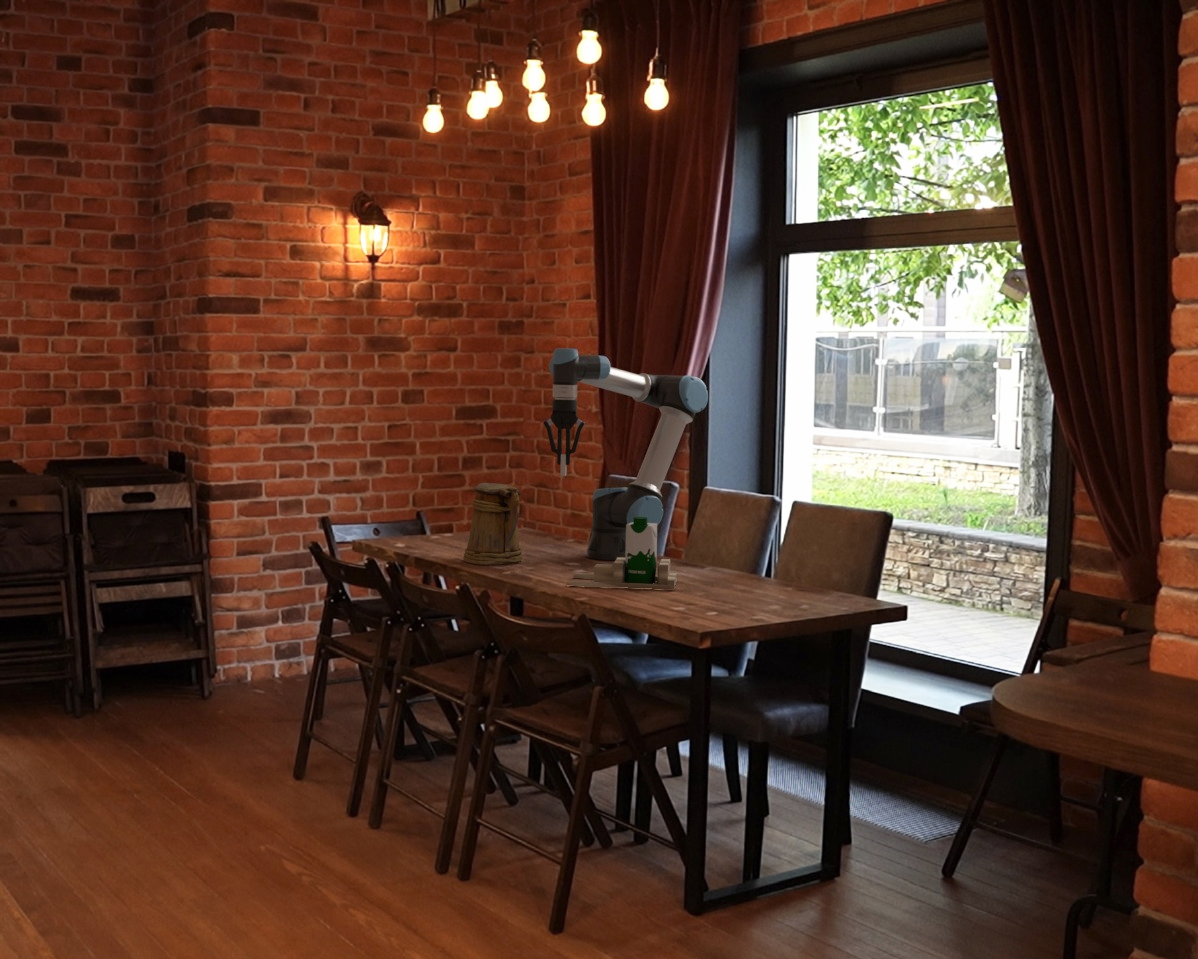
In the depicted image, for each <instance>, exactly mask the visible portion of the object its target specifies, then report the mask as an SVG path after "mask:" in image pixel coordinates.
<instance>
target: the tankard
mask: <svg viewBox="0 0 1198 959" xmlns="http://www.w3.org/2000/svg"><path fill="white" fill-rule="evenodd" d="M474 489H475V490H476V493H475V497H474V498H473V499H472V500H473V501H472V505H471V506H472V509H473V511H472V518H471V523H470V528H469V529H470V530H469V534H468V541H467V547H466V549H465V550H464V553H463V557H462V560H463V561H464V562H467V563H469V564H474V565H481V566H490V565H504V566H510V565H509V564H513V565H515V564H514V563H517V564H520V563H521V562H522V561H523V553H522V549H521V547H520V538H519V528H518V523H519V522H518V521H519V518H520V507H521V506H520V497H519V496H521V494H522V493H521V490H518V488H517V487H514V486H511V485H509V484H503V483H494V482H491V483H490V482H481V483H479V484H477V485H476V486H475V488H474ZM519 562H520V563H519Z"/></svg>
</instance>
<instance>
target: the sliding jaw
mask: <svg viewBox="0 0 1198 959" xmlns="http://www.w3.org/2000/svg"><path fill="white" fill-rule="evenodd" d="M593 574H594V579H593V582H613V583H626V576H625V557H617V559H616V560H614V562H613V564H600V563H599V564H597V563H596V564H595V565H594V566H593Z"/></svg>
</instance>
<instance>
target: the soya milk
mask: <svg viewBox="0 0 1198 959" xmlns="http://www.w3.org/2000/svg"><path fill="white" fill-rule="evenodd" d="M657 555H658V525H657V523H647V518H646V517H634V520H633V522H632V523H629V524H627V525H626V552H625V576H626V583H640V584H653V583H655V584H656V582H655V576H657V575H656V573H657V564H658V563H657V561H658V559H657V558H658V556H657Z"/></svg>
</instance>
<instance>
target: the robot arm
mask: <svg viewBox="0 0 1198 959" xmlns="http://www.w3.org/2000/svg"><path fill="white" fill-rule="evenodd" d="M578 351H579V350H578V349H577V348H563V347H562V348H560V347H559V348H555V349H553V356H552V358H551V359H550V361H549V364H548V368H549V373H550V374H551V376H552V397H553V399H552V407H551V408H552V409H551V410H552V411H551V414H550V418H549V419H547V420H545V421H543V426H544V428H546V432H547V437H548V439H549V440H548V441H549V445H550V450H551V452H552V453H555V454H556V455H557V456H556V458H557V459H556V461H557V462H556V464H557V465H558V466H560V477H566V476H567V467H568V466H569V465H570V464H571V454H573V453H576V452H577V449H578V446H579V441H580V438H581V433H582V430H583V428H584V426H586V422H585V421H582V420H581V419H579V416H578V411H577V410H578V401H577V397H578V383H582V384H585V385H590V386H592V387H594V388H595V387H596V388H600V389H602V390H606V391H609V392H610V391H611V392H613V393H617V394H621V395H625V396H628V397H632V399H633V400H634V401H635V402H638V403H642V404H645V405H647V406H651V407H653V408H656V409H659V411H660V418H659V421H658V423H657V426H656V429H655V431H654V433H653V436H652V438H651V440H650V443H649V446H648V448H647V451H646V454H645V456H644V459H643V461H642V463H641V465H640V468H639V471H638V473H637V476H636V477H635V480H634V481H631V482H630V483H628V486H627V487H623V486H622V487H610V488H608V487H607V488H606V487H605V488H598V489H597V488H596V489H595V490H594V491H593V494H592V495H593V496H592V533H591V536H590V539H589V542H588V546H587V549H586V557H587V558H589V559H593V560H603V561H604V560H606V561H615V560H616V559H617V557H625V552H626V525H627V524H629V523H632V522H633V520H634V517H646V518H647V523H657V526H659V524H660V522H661V521H662V520H663V516H664V509H663V507H664V506H663V503H662V499H663V495H662V493H661V489H662V487H663V484H664V481H665V478H666V476H667V475H668V471H669V469H670V466H671V464H672V461H673V459H674V456H675V453H676V451H677V448H678V446H679V443H680V440H681V438H682V436H683V433H684V430H685V428H686V425H687V424H689V423H692V422H693V420H694V418H695V416H696V413H700V412H701V411H703V410H704V409H705V408H706V406H707V404H708V401H709V391H708V390H707V386H706V384H705V382H704V381H703V380H702V379H701V378H699V377H697V376H693V375H692V376H691V375H690V374H689V375H673V374H672V375H671V374H663V375H662V374H649V373H648V374H647V373H645V372H641V373H639V374H637V373H635V372H634V373H633V372H630V371H627V370H623V369H620V368H616V367H612V365H611V362H610V360H609V358H608V357H607V356H605V355H599V354H596V355H594V354H593V355H592V354H591V355H589V354H588V355H586V354H579V352H578ZM553 425H554V427H556V429H557V438H556V439H557V442H555V437H554V432H553V428H552V426H553ZM575 425H576V431H575V436H574V440H573V442H572V440H571V437H572V436H571V435H572V434H571V433H572V428H573V427H574V426H575ZM564 430H565V453H564V454H563V431H564ZM571 442H572V447H571ZM556 443H557V446H556Z"/></svg>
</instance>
